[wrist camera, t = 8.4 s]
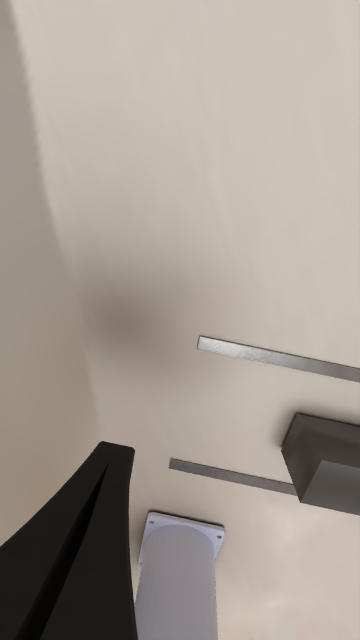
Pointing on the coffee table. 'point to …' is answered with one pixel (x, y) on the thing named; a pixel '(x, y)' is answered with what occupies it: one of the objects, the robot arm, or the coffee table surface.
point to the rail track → (270, 358)
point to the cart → (324, 463)
